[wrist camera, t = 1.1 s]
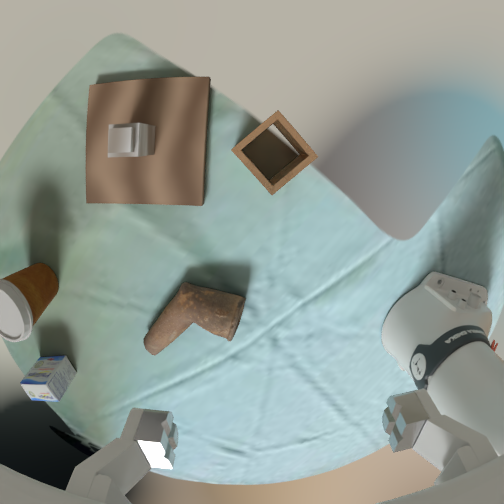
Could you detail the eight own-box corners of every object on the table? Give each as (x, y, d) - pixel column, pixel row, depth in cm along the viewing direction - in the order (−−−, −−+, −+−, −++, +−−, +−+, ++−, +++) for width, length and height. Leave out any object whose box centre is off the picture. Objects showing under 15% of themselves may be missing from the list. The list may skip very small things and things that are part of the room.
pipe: (128, 349, 41) (181, 392, 42) (192, 268, 37) (255, 322, 38) (145, 330, 47) (193, 369, 48) (206, 256, 43) (260, 302, 44)
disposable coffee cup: (75, 303, 44) (37, 343, 32) (36, 309, 44) (-1, 345, 33) (54, 247, 41) (7, 278, 29) (16, 259, 41) (-28, 288, 30)
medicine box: (66, 354, 47) (46, 383, 39) (77, 373, 49) (59, 403, 41) (39, 356, 48) (18, 383, 40) (50, 374, 49) (31, 401, 41)
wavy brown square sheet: (210, 79, 34) (200, 61, 26) (203, 203, 39) (192, 218, 31) (94, 86, 34) (62, 76, 25) (91, 201, 39) (59, 214, 31)
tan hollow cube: (273, 115, 36) (278, 110, 30) (307, 155, 37) (318, 156, 32) (233, 149, 37) (231, 149, 31) (268, 188, 39) (272, 195, 33)
